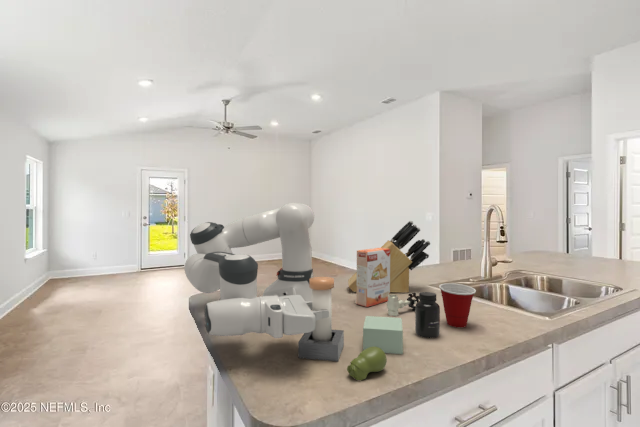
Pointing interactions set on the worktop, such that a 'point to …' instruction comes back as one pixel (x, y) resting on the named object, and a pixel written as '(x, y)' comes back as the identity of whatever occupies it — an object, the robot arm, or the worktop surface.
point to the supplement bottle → (427, 316)
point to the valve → (400, 303)
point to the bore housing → (321, 347)
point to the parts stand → (383, 334)
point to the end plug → (322, 306)
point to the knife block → (401, 258)
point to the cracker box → (373, 276)
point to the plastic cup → (456, 303)
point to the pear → (367, 363)
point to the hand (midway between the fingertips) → (325, 309)
